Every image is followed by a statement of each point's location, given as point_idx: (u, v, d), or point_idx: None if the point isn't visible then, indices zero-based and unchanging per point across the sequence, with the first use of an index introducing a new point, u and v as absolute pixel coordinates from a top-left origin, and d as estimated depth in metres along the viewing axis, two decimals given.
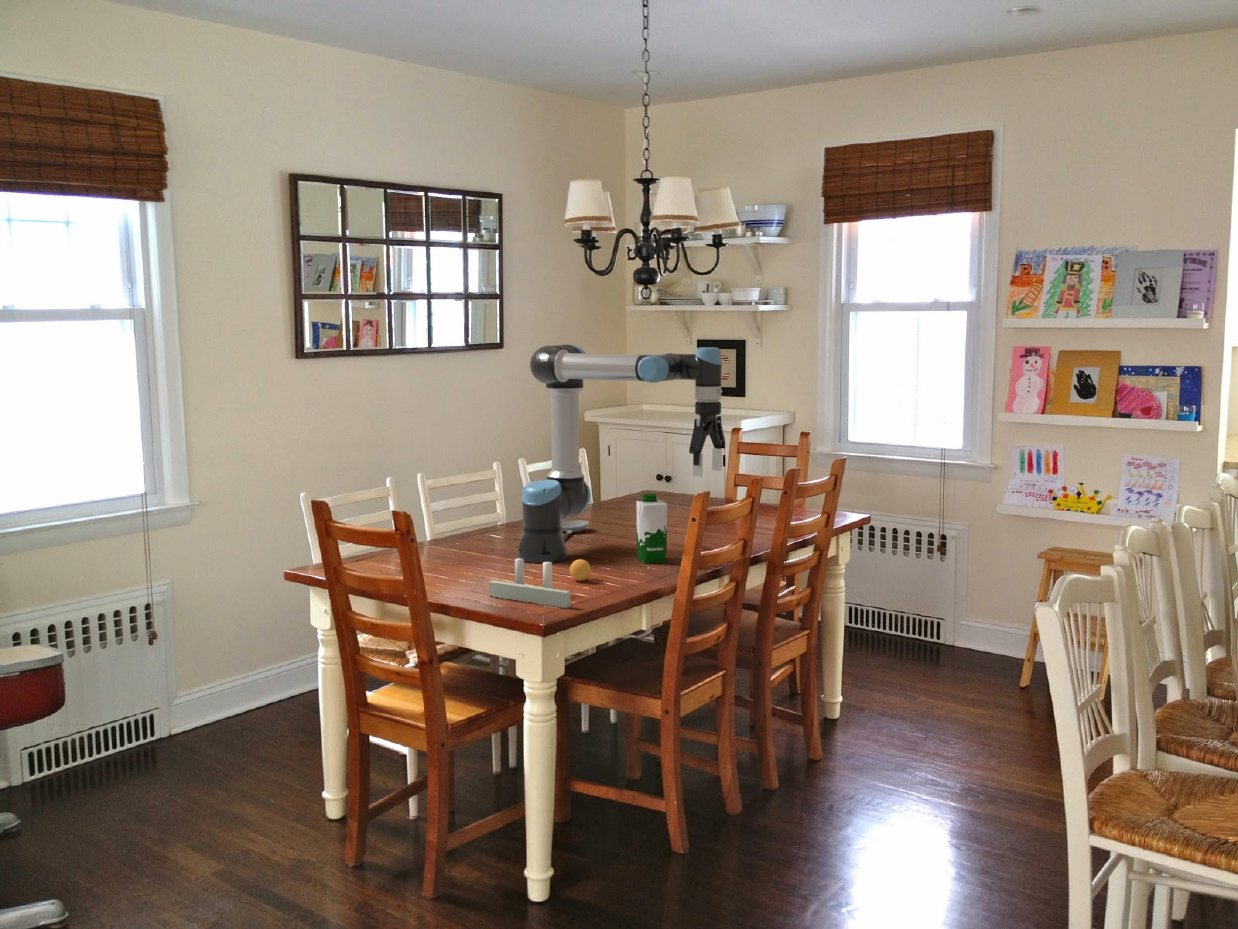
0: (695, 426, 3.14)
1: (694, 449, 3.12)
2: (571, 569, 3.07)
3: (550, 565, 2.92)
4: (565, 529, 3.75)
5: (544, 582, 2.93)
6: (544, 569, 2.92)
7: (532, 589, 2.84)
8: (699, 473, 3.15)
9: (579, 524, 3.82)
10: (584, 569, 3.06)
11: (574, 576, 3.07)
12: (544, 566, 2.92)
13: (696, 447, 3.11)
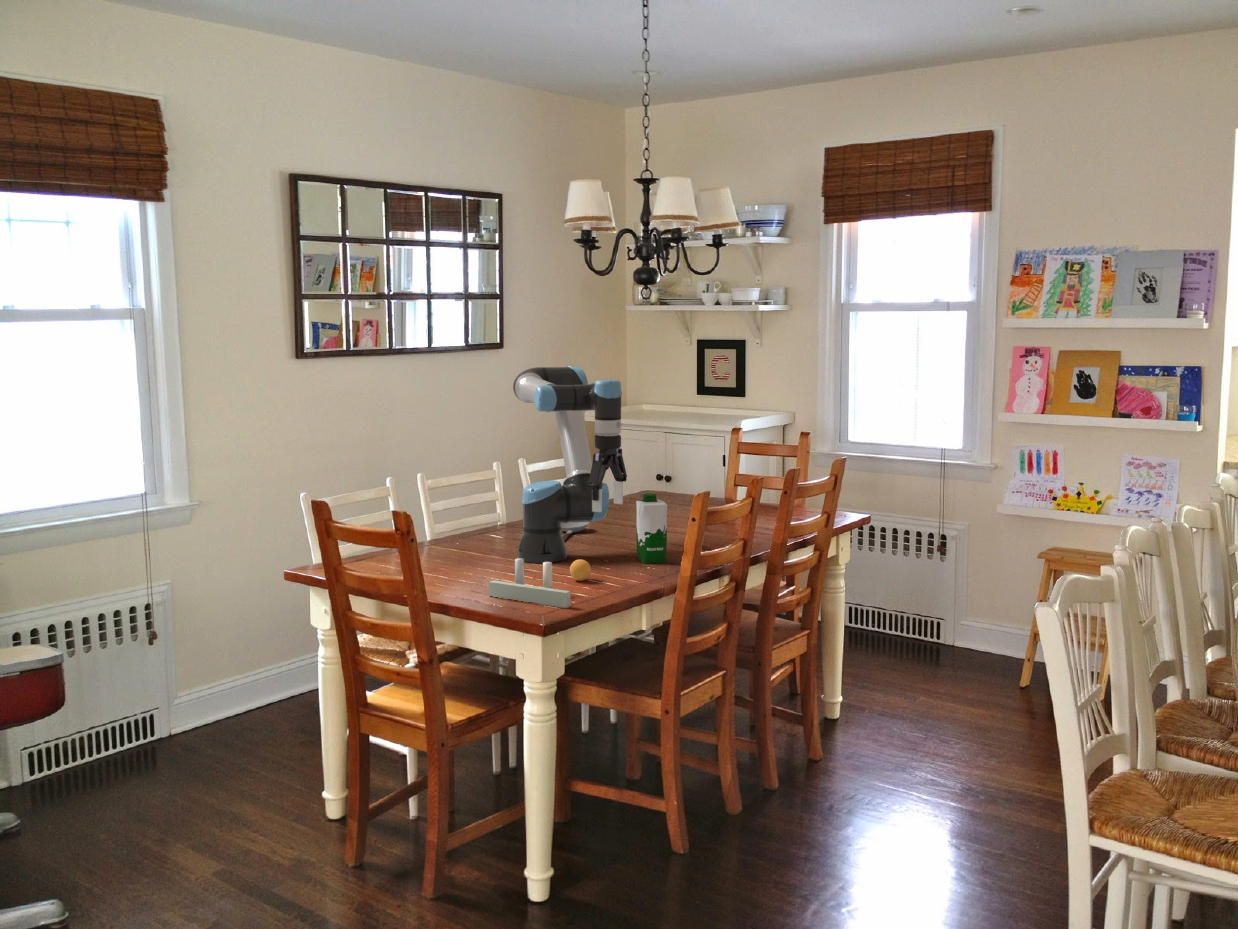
0: (594, 461, 3.08)
1: (593, 484, 3.06)
2: (571, 569, 3.07)
3: (550, 565, 2.92)
4: (565, 529, 3.75)
5: (544, 582, 2.93)
6: (544, 569, 2.92)
7: (532, 589, 2.84)
8: (598, 508, 3.09)
9: (579, 524, 3.82)
10: (584, 569, 3.06)
11: (574, 576, 3.07)
12: (544, 566, 2.92)
13: (595, 483, 3.05)
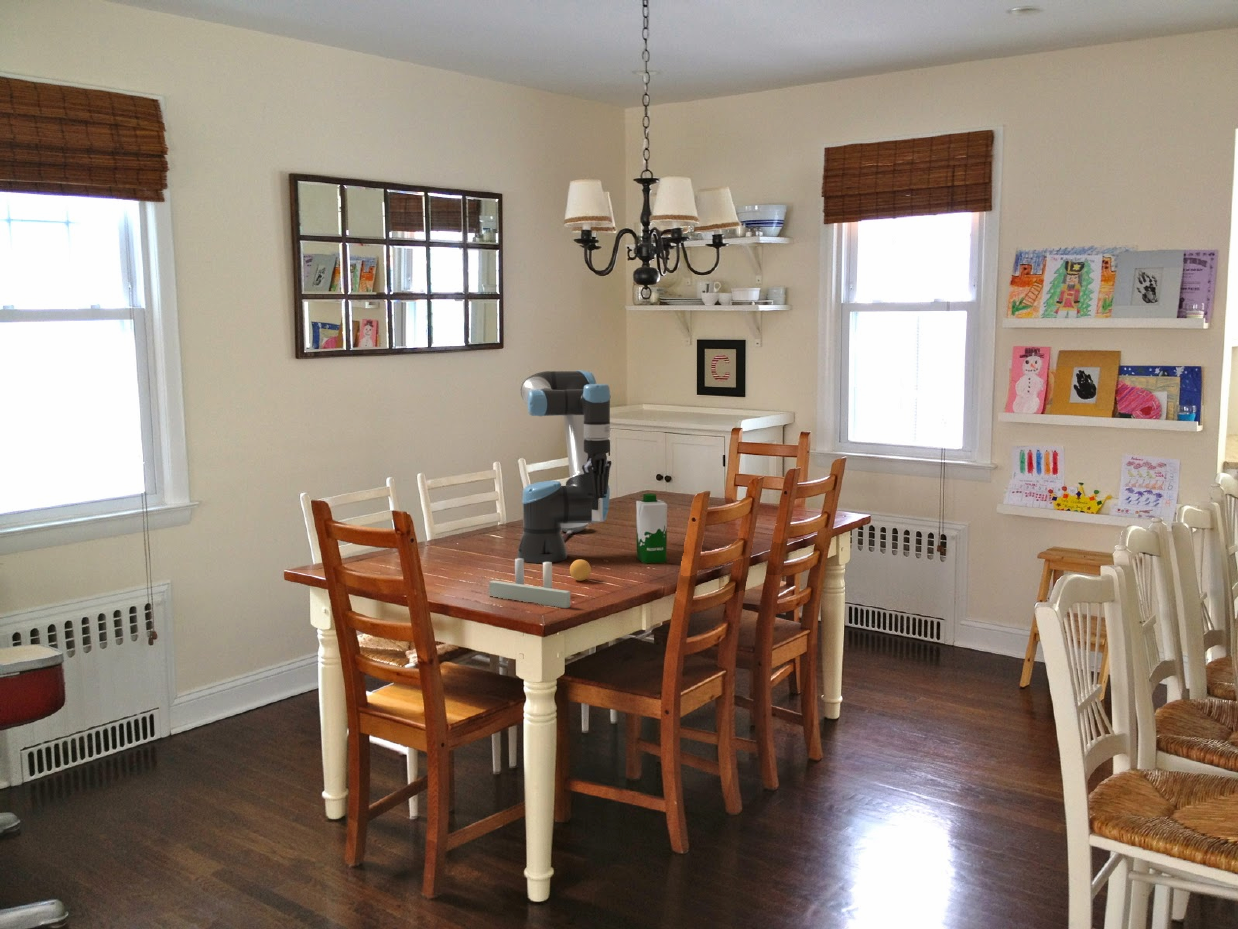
0: (585, 472, 3.09)
1: (592, 494, 3.11)
2: (571, 569, 3.07)
3: (550, 565, 2.92)
4: (565, 529, 3.74)
5: (544, 582, 2.93)
6: (544, 569, 2.92)
7: (532, 589, 2.84)
8: (598, 518, 3.14)
9: (579, 524, 3.82)
10: (584, 569, 3.06)
11: (574, 576, 3.07)
12: (544, 566, 2.92)
13: (593, 494, 3.10)
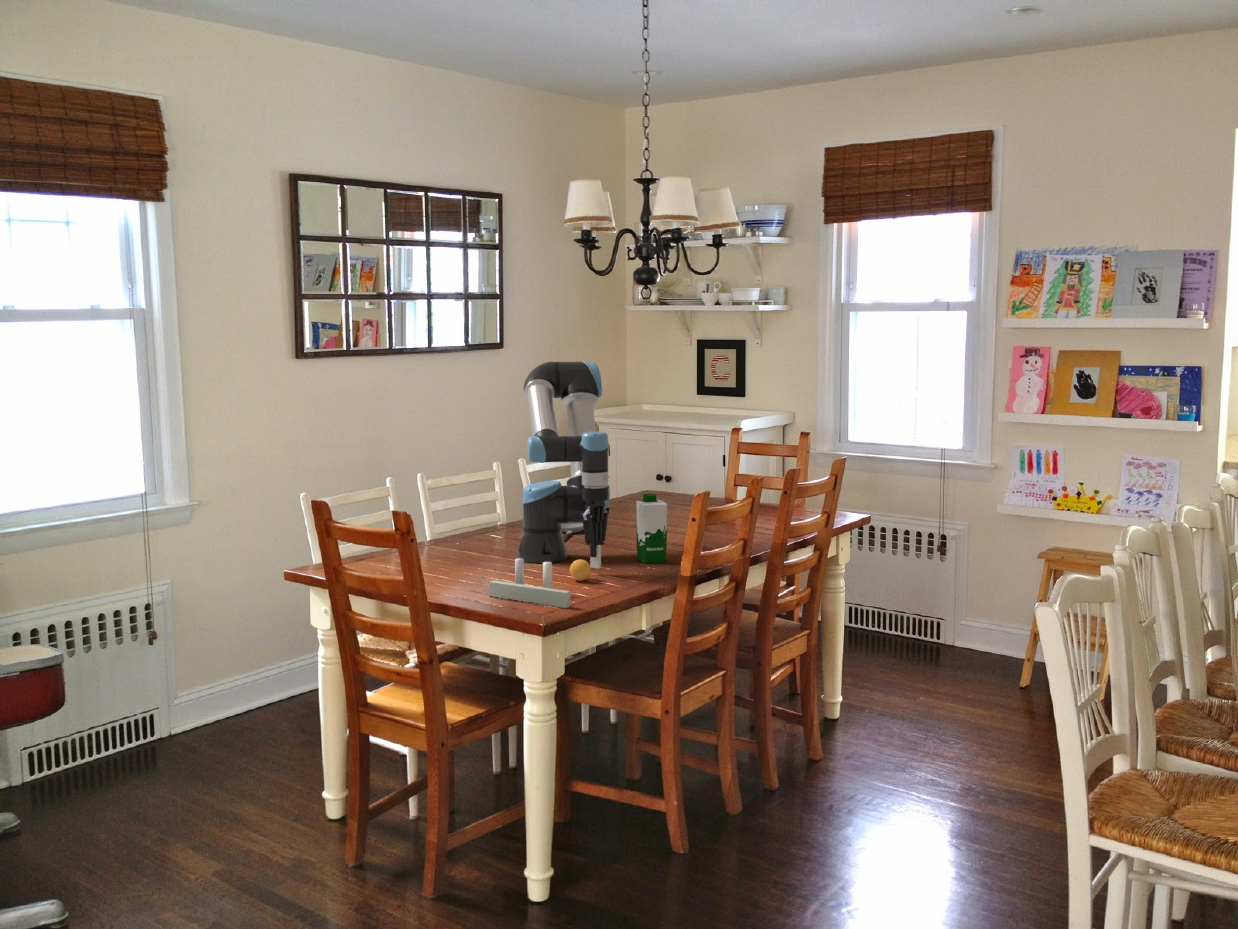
0: (583, 520, 3.10)
1: (590, 542, 3.11)
2: (571, 569, 3.07)
3: (550, 565, 2.92)
4: (565, 529, 3.74)
5: (544, 582, 2.93)
6: (544, 569, 2.92)
7: (532, 589, 2.84)
8: (596, 565, 3.15)
9: (579, 524, 3.82)
10: (584, 569, 3.06)
11: (574, 576, 3.07)
12: (544, 566, 2.92)
13: (592, 541, 3.11)
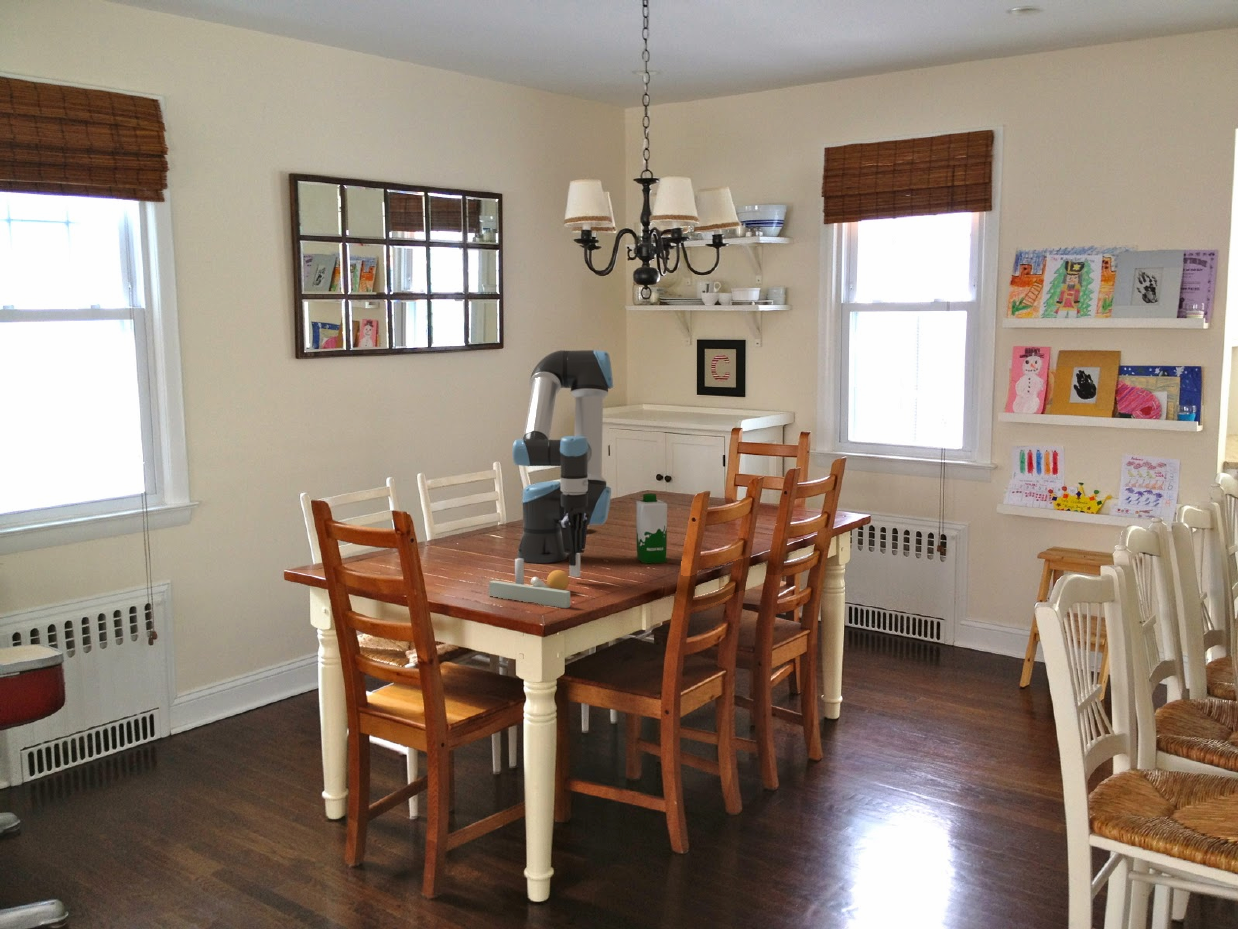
0: (562, 528, 3.00)
1: (569, 550, 3.02)
2: None
3: (539, 583, 2.86)
4: None
5: None
6: None
7: (532, 589, 2.84)
8: (575, 573, 3.05)
9: None
10: (568, 578, 2.96)
11: (558, 570, 2.95)
12: (533, 585, 2.87)
13: (570, 549, 3.01)
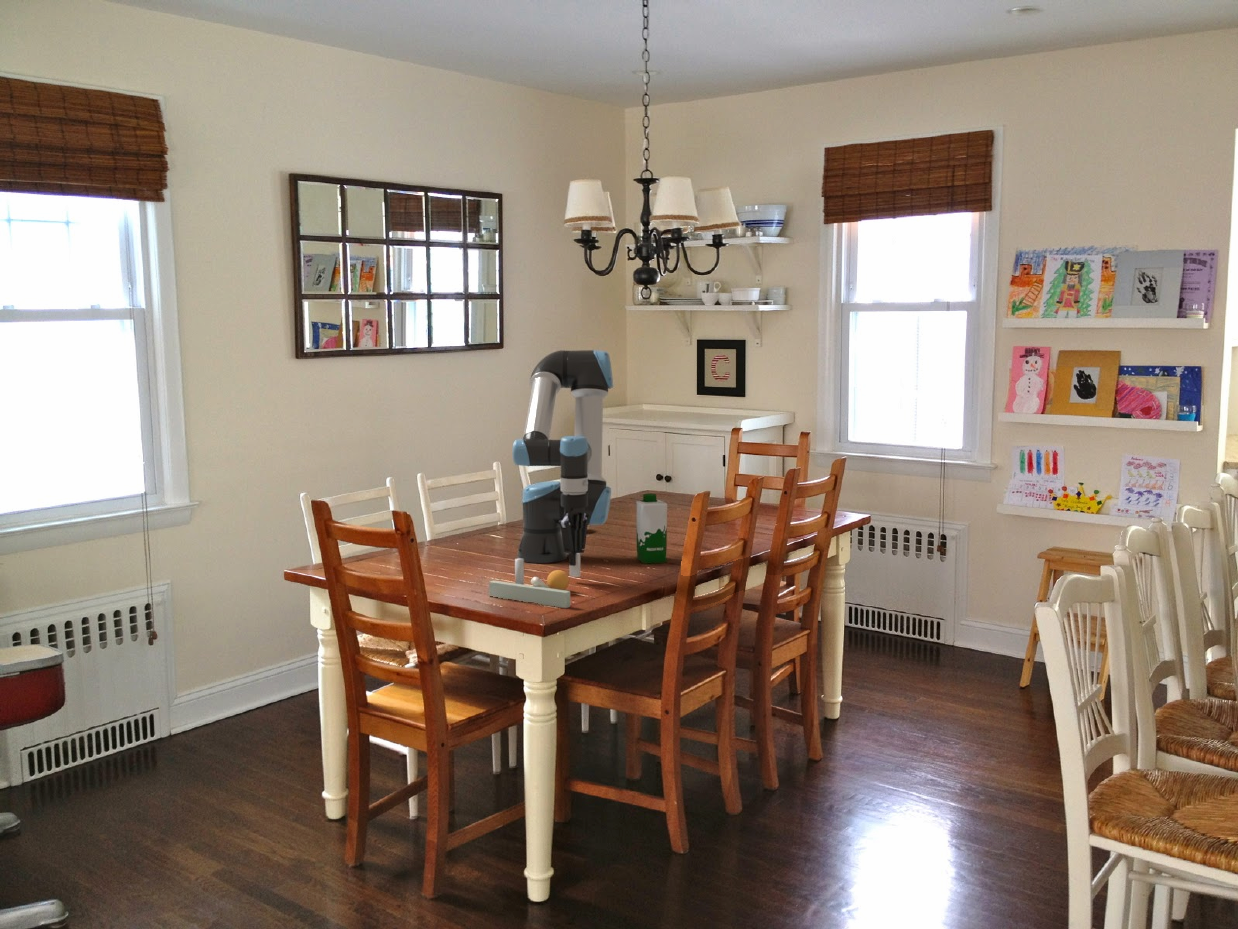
0: (562, 528, 3.00)
1: (569, 550, 3.02)
2: None
3: (539, 584, 2.86)
4: None
5: None
6: None
7: (532, 589, 2.84)
8: (575, 573, 3.05)
9: None
10: (568, 578, 2.96)
11: (558, 571, 2.95)
12: (533, 585, 2.87)
13: (570, 549, 3.01)
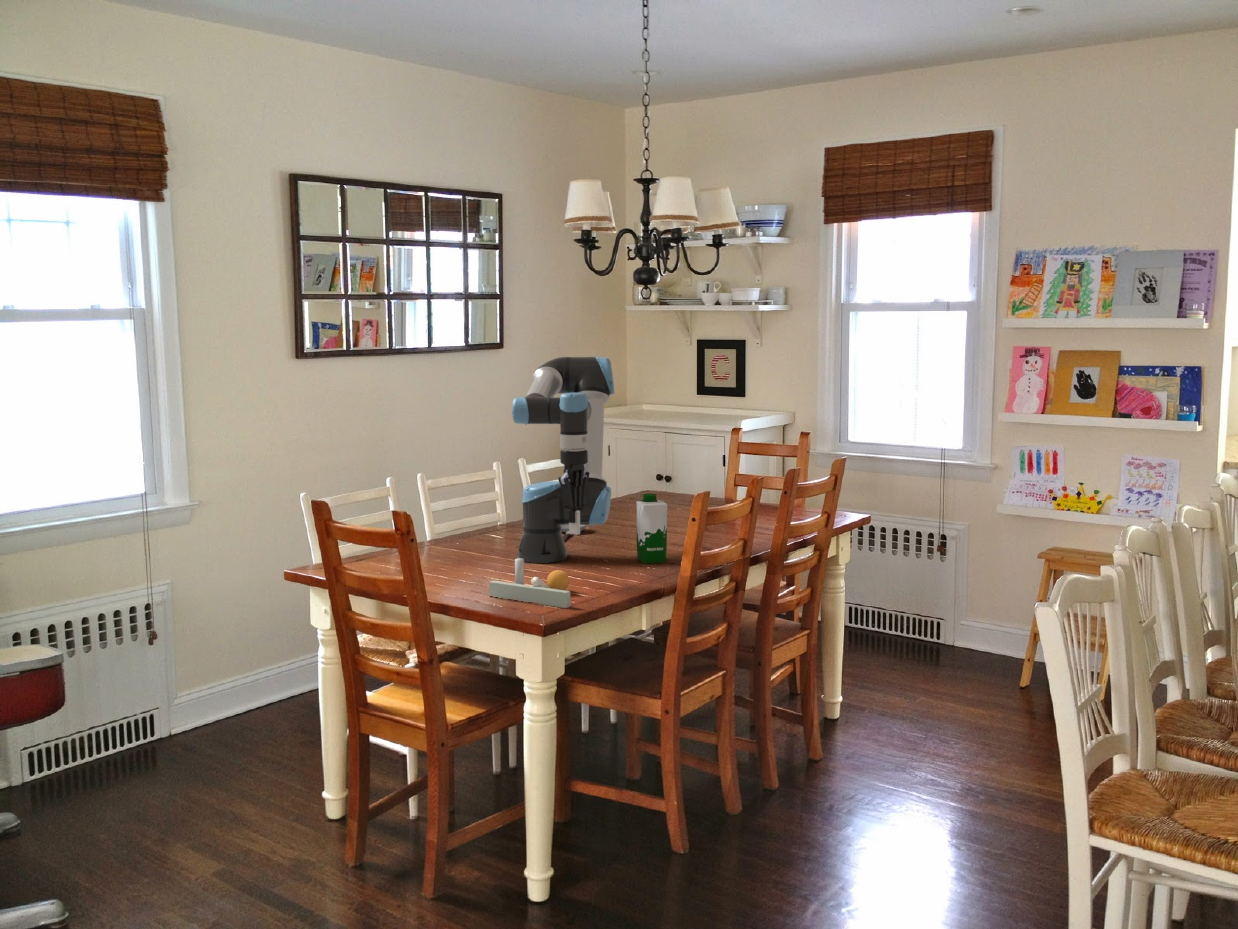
0: (561, 484, 2.98)
1: (568, 507, 3.00)
2: None
3: (539, 584, 2.86)
4: (564, 530, 3.74)
5: None
6: None
7: (532, 589, 2.84)
8: (575, 531, 3.03)
9: None
10: (568, 578, 2.96)
11: (558, 571, 2.95)
12: (534, 585, 2.87)
13: (570, 506, 3.00)
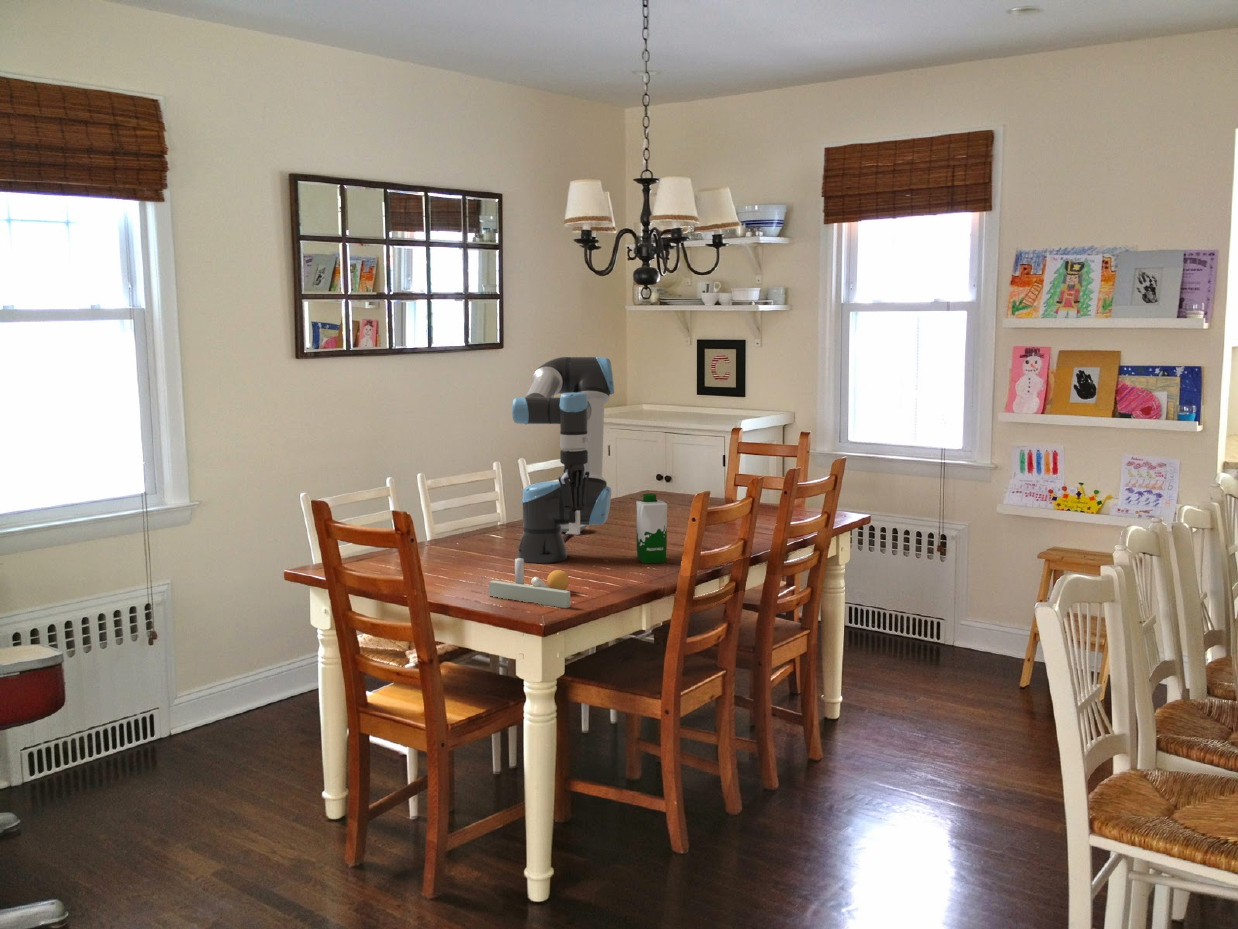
0: (561, 484, 2.98)
1: (568, 507, 3.00)
2: None
3: (539, 584, 2.86)
4: (564, 530, 3.74)
5: None
6: None
7: (532, 589, 2.84)
8: (575, 531, 3.03)
9: None
10: (568, 578, 2.96)
11: (558, 571, 2.95)
12: (534, 585, 2.87)
13: (570, 506, 3.00)
